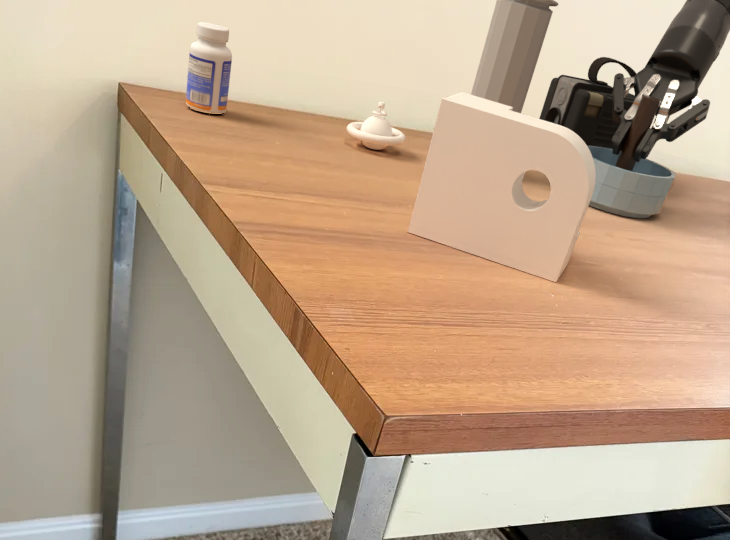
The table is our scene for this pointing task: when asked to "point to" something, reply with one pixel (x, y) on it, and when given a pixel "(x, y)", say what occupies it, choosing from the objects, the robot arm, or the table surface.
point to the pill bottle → (209, 69)
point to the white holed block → (503, 186)
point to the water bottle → (512, 51)
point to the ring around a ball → (376, 131)
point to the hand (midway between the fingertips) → (626, 153)
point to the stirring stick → (637, 131)
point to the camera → (585, 104)
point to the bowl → (629, 185)
